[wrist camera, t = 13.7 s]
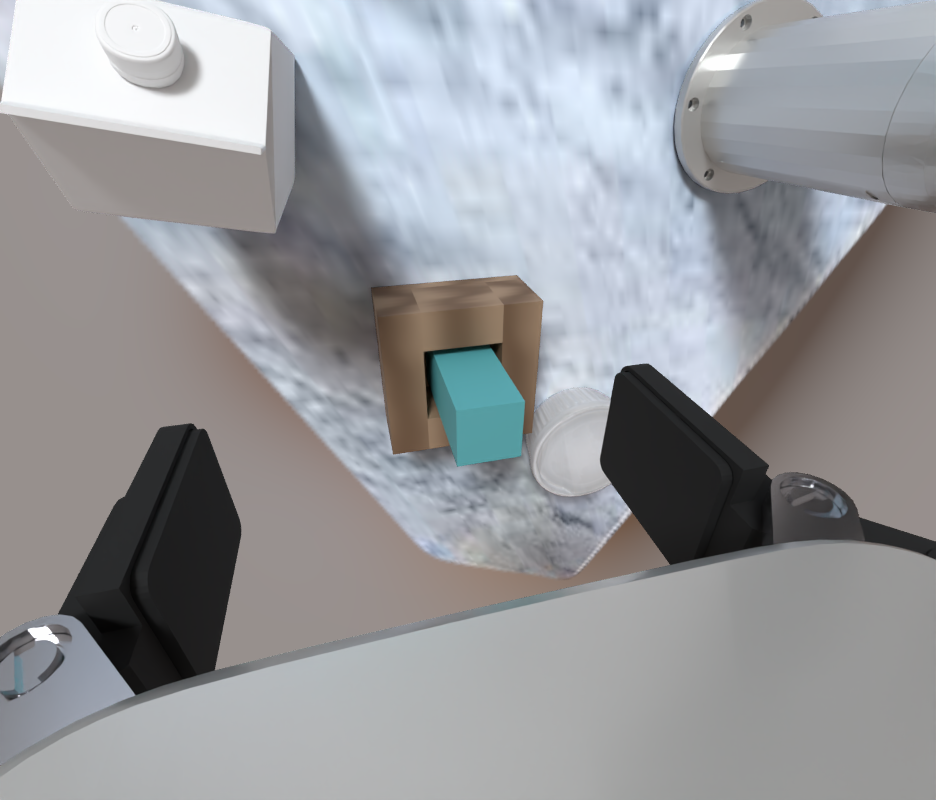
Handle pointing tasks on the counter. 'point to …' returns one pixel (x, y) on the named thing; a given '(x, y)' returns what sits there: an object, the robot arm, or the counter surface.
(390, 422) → the socket block
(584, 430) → the ramekin
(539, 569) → the counter surface
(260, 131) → the milk carton
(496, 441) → the peg
